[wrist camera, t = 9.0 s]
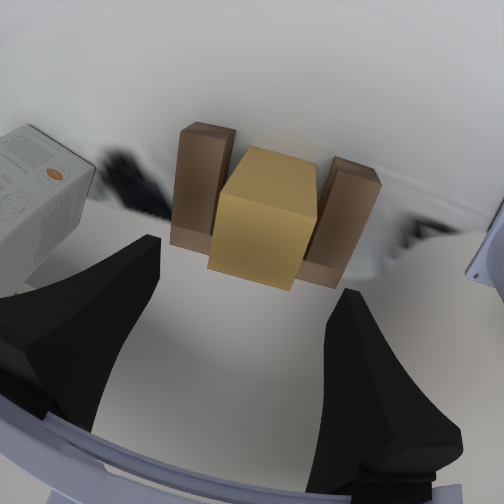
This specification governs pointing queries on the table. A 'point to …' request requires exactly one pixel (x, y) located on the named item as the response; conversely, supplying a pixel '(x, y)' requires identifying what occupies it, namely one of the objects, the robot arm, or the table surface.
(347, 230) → the notched board
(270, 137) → the table surface
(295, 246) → the ochre block
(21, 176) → the small box
